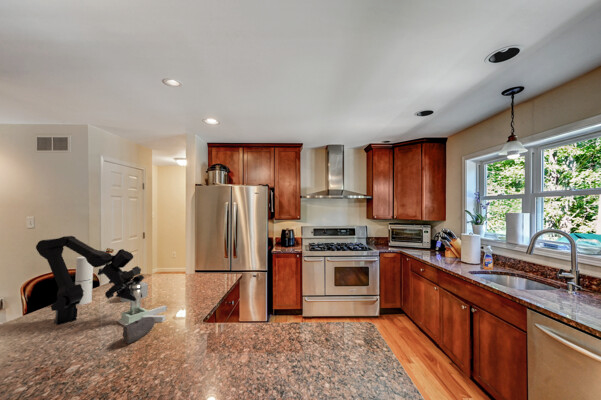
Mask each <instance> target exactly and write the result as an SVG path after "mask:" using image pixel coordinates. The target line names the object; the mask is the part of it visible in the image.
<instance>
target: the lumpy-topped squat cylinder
mask: <svg viewBox="0 0 601 400" xmlns="http://www.w3.org/2000/svg"><path fill="white" fill-rule="evenodd" d="M140 284H141V293H142V297H141V300H142V299H144V298H146V297H148V291H149V289H148V287H149V284H148V283H147V282H144V281H141V282H140ZM127 285H128V284H127ZM120 302H121V303H130V300H128V299H125V298H121V297H120Z"/></svg>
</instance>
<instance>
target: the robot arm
mask: <svg viewBox="0 0 601 400" xmlns="http://www.w3.org/2000/svg"><path fill="white" fill-rule="evenodd" d="M64 247H65V248H68V249H69V250H71V251H73V252H75V253H77V254H78V255H79V256H81V257H85V258H86V260H87V262H88V263H89V264H90V265H92V266H93V268H99V267H101V268H99V269H98V272H97V276H101V275H104V276H105V277H106V278H107V279H108V280H109V281H108V283H109V284H112V286H111V287H110V288H108V289H107V291H106V292H105V293H104V296H105V298H107V300H109V299H111V298H113V297H115V298H120V299H121V298H125V299H128V300H131V301H136V298H135V296H134V295H133V294H132V293H131V290H130V289H131V285H132V284H138V283H140V282H143V280H144V279H145V276H144V275H143V274H141V271H142V268H141V267H139V266H138V265H137V266H134V267H132V268H131V270H129V271H128V270H124V271H123V270H122V269H121V268H125V267H126V265H128V264H129V263H130V262H131V261H132V260H133V259H134V255H133V254H132V252H130V251H128V250H124V248H122V249H119V250H118V251H117V253H115V254H113V255H112V254H111V253H110V252H108V251H107V252H106V251H104V250H98V249H95V248H93V247H92V246H90V245H88V244H86V243H85V242H83V241H81V240H79V239H78V238H76V237H75V236H73V235H66V236H61V237H59V238H58V237H57V238H49V239H41V240H40V241H38V242H37V244H36V245H35V249H36V250H37V253H38V255H40V256H41V257H42V258H44V259H45V260H47V263H48V265H49V268H50V270H51V272H52V275H53V278H54V280H55V282H56V285H57V287H58V290H57V293H56V299H57V300H56V301H55V302H53V303H52V305H50V309H51V311H52V312H53V311H54V312H55V320H53V322H54V323H55V324H56V325H58V326H59V325H63V324H66V323H70V322H74V321H77V320H78V307H77V306H78V305H77V304H79V303H80V301H81V299H82V297H83V292H84V291H83V289H82V287H81V285H80V284H78V285H76V284H75V282H74V281H73V279H72V277H71V274H70V272H69V269H68V267H67V264H66V262H65V260H64V257H63V252H64V250H65V248H64ZM103 266H104V267H103ZM127 284H128V285H127ZM115 293H116V295H115ZM141 297H142V293H141Z"/></svg>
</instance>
